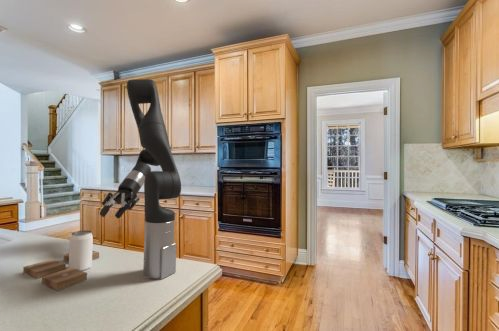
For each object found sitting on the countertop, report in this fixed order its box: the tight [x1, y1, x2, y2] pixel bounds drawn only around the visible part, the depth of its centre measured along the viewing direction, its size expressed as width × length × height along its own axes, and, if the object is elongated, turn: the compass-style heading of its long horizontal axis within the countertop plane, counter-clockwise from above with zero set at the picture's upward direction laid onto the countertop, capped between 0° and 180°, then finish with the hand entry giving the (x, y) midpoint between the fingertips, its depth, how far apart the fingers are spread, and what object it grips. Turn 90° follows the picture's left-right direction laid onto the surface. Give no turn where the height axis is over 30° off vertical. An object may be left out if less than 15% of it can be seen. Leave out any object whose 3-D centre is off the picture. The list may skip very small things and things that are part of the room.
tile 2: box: [22, 258, 67, 280], centre depth 82 cm, size 8×8×2 cm
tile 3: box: [62, 250, 100, 263], centre depth 93 cm, size 8×8×2 cm
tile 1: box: [41, 267, 88, 291], centre depth 75 cm, size 8×8×2 cm
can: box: [68, 230, 94, 272], centre depth 85 cm, size 6×6×12 cm
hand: (109, 216), depth 96 cm, fingers open, 6 cm apart
